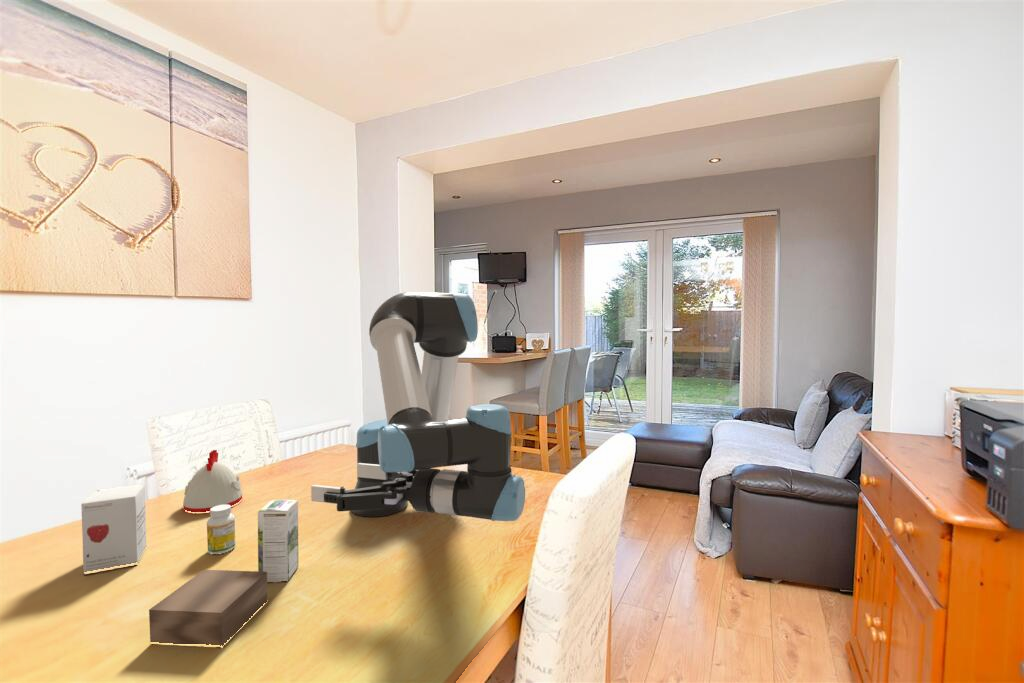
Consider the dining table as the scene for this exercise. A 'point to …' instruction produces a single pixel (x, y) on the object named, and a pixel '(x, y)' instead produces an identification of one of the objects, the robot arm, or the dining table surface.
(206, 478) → the kitchen timer
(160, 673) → the dining table surface
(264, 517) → the syrup box
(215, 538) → the supplement bottle
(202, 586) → the walnut block
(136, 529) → the supplement box
